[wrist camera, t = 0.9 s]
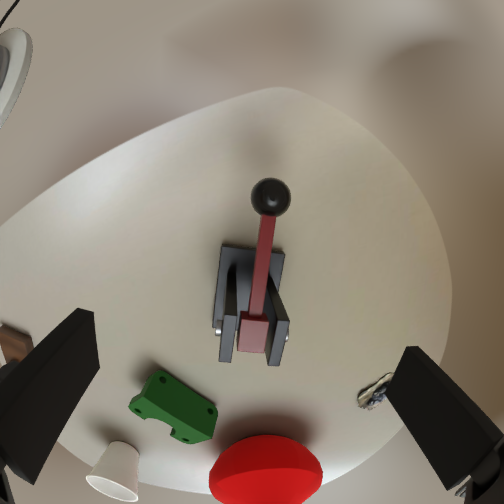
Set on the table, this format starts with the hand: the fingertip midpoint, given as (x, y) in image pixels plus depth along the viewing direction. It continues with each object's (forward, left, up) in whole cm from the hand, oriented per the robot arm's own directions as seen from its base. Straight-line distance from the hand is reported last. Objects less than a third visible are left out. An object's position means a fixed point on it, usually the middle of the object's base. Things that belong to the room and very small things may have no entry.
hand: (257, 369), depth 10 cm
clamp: (+24, -7, -22) cm, 33 cm away
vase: (+36, +8, -22) cm, 43 cm away
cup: (+43, -18, -22) cm, 51 cm away
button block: (+26, -37, -22) cm, 50 cm away
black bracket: (+5, +1, -22) cm, 22 cm away
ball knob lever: (-1, +1, -14) cm, 14 cm away
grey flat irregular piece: (+21, +25, -22) cm, 39 cm away
